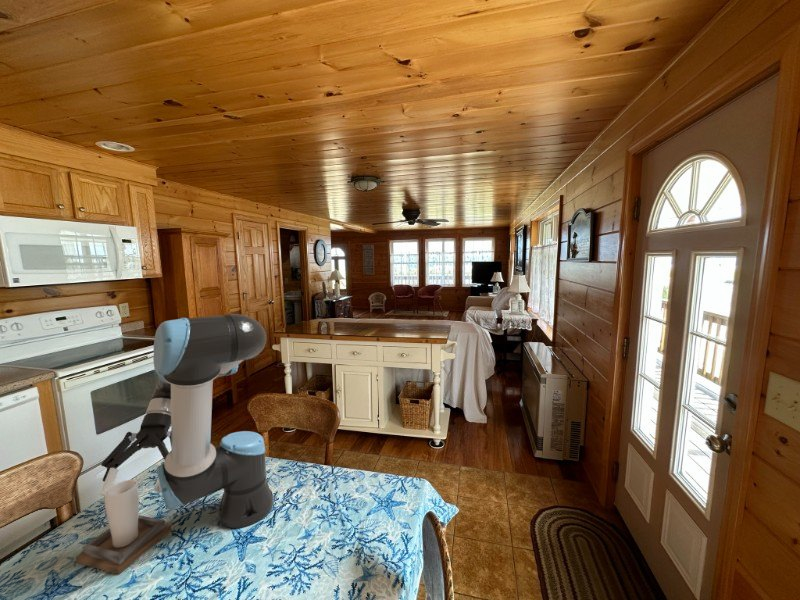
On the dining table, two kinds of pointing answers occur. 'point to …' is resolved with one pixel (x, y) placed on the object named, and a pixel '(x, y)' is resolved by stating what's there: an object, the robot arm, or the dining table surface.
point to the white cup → (122, 512)
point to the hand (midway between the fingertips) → (131, 493)
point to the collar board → (118, 559)
